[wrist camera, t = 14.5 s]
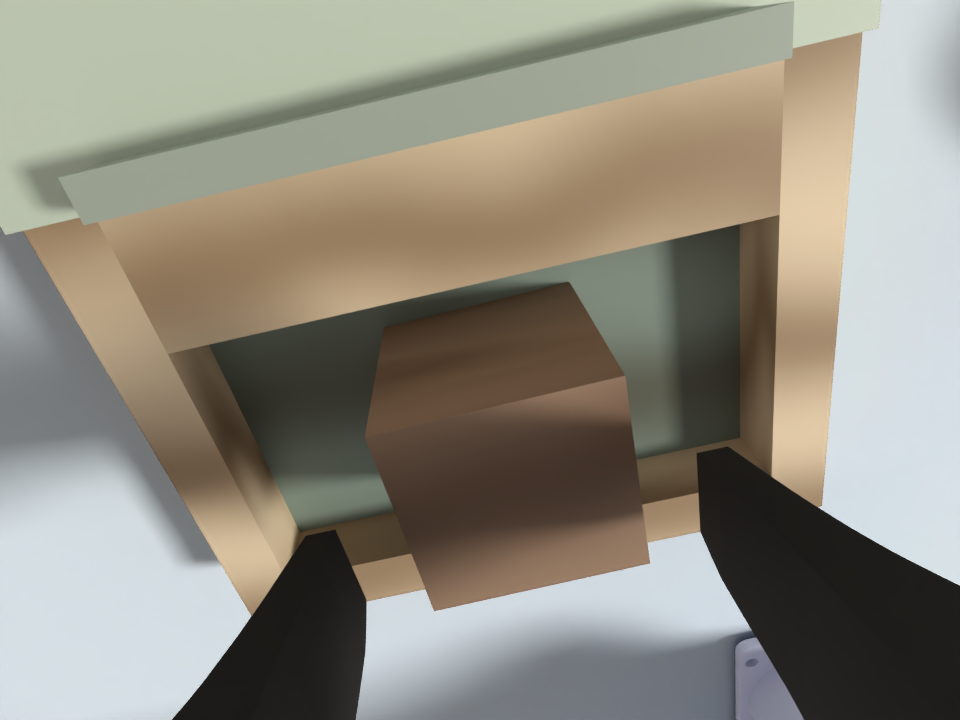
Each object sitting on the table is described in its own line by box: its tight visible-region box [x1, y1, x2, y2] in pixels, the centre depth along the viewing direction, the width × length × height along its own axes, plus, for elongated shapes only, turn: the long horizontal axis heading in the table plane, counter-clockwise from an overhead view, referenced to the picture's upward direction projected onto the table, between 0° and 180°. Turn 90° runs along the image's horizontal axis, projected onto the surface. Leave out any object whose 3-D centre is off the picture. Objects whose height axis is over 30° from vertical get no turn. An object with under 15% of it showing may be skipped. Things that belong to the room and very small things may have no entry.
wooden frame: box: [23, 32, 862, 616], centre depth 13 cm, size 24×17×3 cm
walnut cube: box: [365, 282, 650, 611], centre depth 14 cm, size 5×5×5 cm
